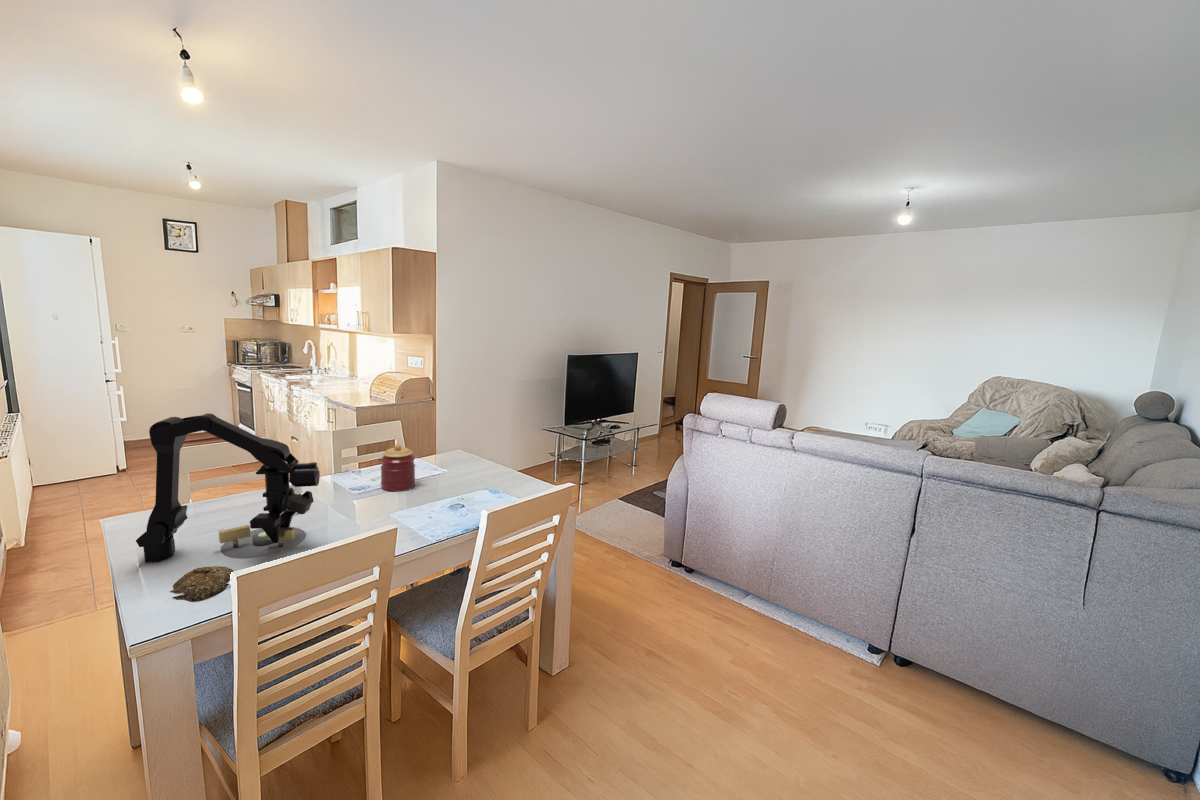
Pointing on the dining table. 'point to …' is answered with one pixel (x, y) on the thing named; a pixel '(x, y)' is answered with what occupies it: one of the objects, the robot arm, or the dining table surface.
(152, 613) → the dining table surface
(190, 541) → the dining table surface
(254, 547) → the levelling base
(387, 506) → the dining table surface
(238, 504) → the dining table surface
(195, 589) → the brown speckled lumpy part
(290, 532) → the knob near
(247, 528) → the knob left
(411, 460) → the canister
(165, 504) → the robot arm
